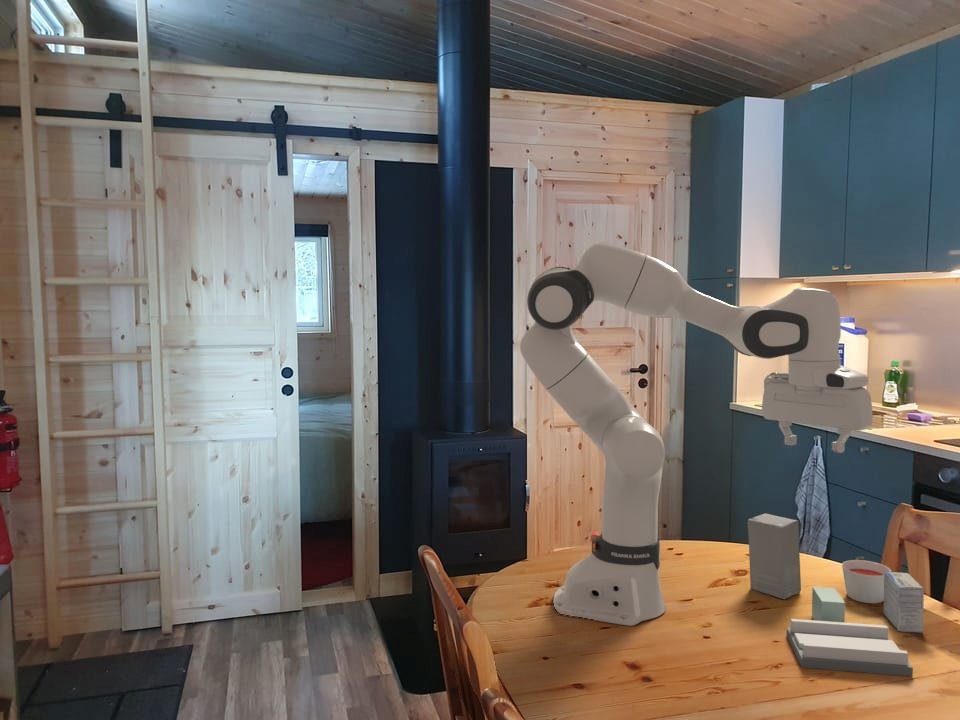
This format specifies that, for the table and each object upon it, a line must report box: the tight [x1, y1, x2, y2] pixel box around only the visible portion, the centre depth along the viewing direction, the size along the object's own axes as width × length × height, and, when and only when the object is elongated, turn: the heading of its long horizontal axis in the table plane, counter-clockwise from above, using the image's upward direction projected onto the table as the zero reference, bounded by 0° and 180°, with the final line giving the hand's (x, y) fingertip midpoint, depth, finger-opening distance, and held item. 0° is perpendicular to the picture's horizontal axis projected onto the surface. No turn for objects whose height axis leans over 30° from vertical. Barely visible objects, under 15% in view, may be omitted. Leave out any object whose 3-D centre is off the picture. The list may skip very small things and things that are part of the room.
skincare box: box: [747, 512, 802, 600], centre depth 153 cm, size 8×7×16 cm
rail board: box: [786, 618, 914, 677], centre depth 126 cm, size 17×12×4 cm
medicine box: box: [883, 571, 925, 634], centre depth 138 cm, size 8×4×9 cm, turn 168°
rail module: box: [811, 586, 846, 623], centre depth 138 cm, size 4×7×6 cm, turn 168°
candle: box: [841, 559, 892, 604], centre depth 150 cm, size 9×9×6 cm
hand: (813, 448), depth 136 cm, fingers open, 8 cm apart
